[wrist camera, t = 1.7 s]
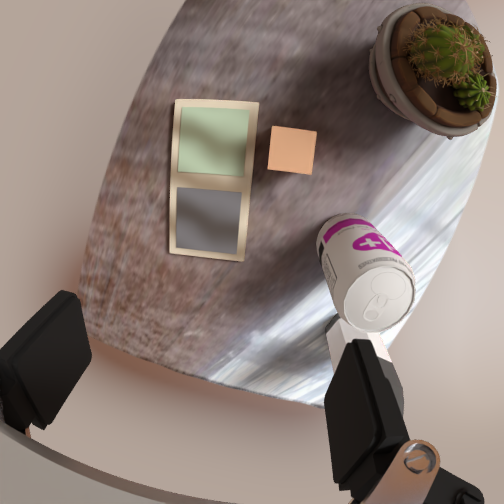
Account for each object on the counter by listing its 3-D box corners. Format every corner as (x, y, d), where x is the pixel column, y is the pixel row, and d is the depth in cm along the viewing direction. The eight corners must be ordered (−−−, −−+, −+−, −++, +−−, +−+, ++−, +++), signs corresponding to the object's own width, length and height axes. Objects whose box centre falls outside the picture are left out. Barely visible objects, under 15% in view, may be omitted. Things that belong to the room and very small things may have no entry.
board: (177, 100, 33) (174, 99, 32) (259, 103, 33) (259, 102, 32) (171, 250, 41) (169, 253, 40) (244, 258, 40) (243, 262, 39)
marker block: (271, 127, 34) (272, 125, 28) (309, 131, 34) (316, 131, 28) (268, 163, 36) (267, 169, 30) (305, 167, 35) (311, 174, 30)
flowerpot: (446, 38, 26) (541, 6, 8) (451, 141, 32) (559, 165, 14) (348, 17, 27) (408, -61, 9) (354, 129, 33) (436, 132, 15)
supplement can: (331, 201, 37) (365, 244, 23) (384, 226, 37) (436, 277, 24) (305, 257, 40) (320, 324, 26) (357, 277, 40) (391, 345, 27)
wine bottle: (339, 356, 46) (372, 529, 18) (314, 326, 44) (340, 522, 16) (382, 331, 44) (445, 500, 16) (359, 298, 42) (430, 489, 14)
